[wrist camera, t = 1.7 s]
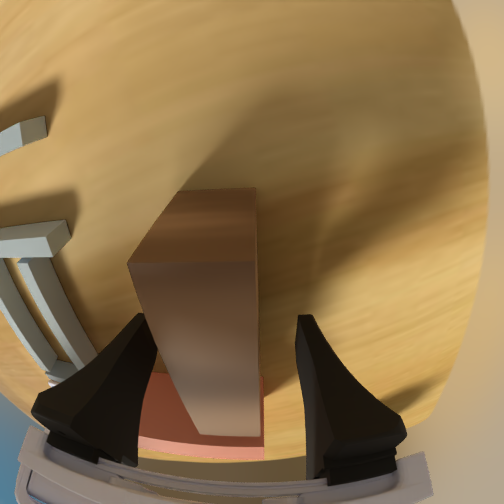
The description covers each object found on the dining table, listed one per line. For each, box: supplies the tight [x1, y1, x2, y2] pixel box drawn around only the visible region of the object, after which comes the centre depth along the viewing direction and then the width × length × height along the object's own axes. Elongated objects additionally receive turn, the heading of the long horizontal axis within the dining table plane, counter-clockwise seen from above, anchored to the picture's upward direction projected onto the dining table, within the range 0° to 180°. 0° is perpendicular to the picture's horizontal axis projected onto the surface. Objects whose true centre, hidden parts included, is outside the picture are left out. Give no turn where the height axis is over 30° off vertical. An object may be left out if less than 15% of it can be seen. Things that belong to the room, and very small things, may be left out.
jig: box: [0, 116, 98, 383], centre depth 14 cm, size 21×12×2 cm, turn 2°
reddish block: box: [138, 372, 264, 460], centre depth 18 cm, size 4×12×6 cm, turn 92°
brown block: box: [127, 188, 261, 437], centre depth 13 cm, size 12×4×6 cm, turn 2°
